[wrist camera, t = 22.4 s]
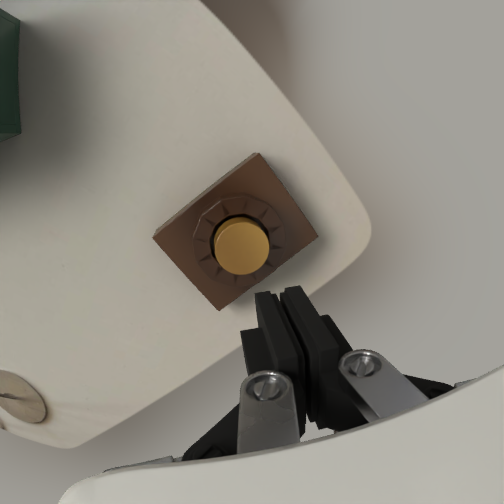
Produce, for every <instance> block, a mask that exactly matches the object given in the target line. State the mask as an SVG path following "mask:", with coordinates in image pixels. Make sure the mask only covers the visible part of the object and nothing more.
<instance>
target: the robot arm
mask: <svg viewBox="0 0 504 504" xmlns="http://www.w3.org/2000/svg"><path fill="white" fill-rule="evenodd" d="M255 304H256V312H257V320H258V328H254V329H249V330H243V331H240V333H241V339H242V345H243V351H244V357H245V363H246V368H247V373H248V377H247V378H246V379H245V380H244V381H243V383H242V385H241V388H240V402H239V404H238V405H237V406H236V407H234V408H233V409H232V410H231V411H230V412H229V413H228V414H227V415H226V416H225V417H224V418H223V419H222V420H220V421H219V422H218V423H217V424H216V425H215V426H214V427H213V428H211V429H210V430H209V431H208V432H207V433H206V434H205V435H204V436H202V437H201V438H200V439H199V440H198V441H197V442H196V443H194V444H193V445H192V446H191V447H190V448H189V449H188V450H187V451H186V452H185V453H184V455H183V457H179V458H175V459H173V457H172V456H168V457H164V458H160V459H155V460H151V461H146V462H142V463H137V464H132V465H126V466H121V467H115V468H111V469H108V470H105V471H104V472H102V473H101V474H97V475H94V476H91V477H88V478H86V479H83V480H82V481H79V482H77V483H76V484H74V485H73V486H71V487H70V488H69V489H68V490H67V491H66V492H65V493H64V494H63V496H62V498H61V499H60V501H59V503H58V504H504V365H502V366H500V367H499V368H496V369H494V370H492V371H490V372H488V373H486V374H484V375H482V376H480V377H478V378H475V379H472V380H467V381H463V382H459V383H455V385H454V387H452V386H451V385H448V384H445V383H441V382H436V381H431V380H426V379H422V378H417V377H412V376H408V375H404V374H401V373H400V372H399V371H398V370H397V369H396V368H395V367H394V366H393V365H392V364H391V363H390V362H388V361H387V360H386V359H385V358H384V357H383V356H382V355H380V354H379V353H377V352H375V351H372V350H366V349H361V350H354V351H353V349H352V348H351V346H350V345H349V343H348V342H347V340H346V339H345V338H344V336H343V335H342V333H341V332H340V330H339V329H338V327H337V326H336V324H335V323H334V322H333V320H332V319H331V317H330V316H329V315H322V316H319V314H318V312H317V311H316V309H315V308H314V306H313V305H312V303H311V302H310V300H309V298H308V297H307V295H306V294H305V292H304V291H303V289H302V288H301V286H300V285H299V286H294V287H288V288H285V291H284V292H282V293H280V301H279V299H278V297H277V295H276V294H271V293H270V291H265V292H259V293H255ZM306 414H307V416H308V419H309V421H310V422H316V424H317V427H318V429H319V430H320V429H323V428H329V429H332V430H334V434H331V435H328V436H324V437H320V438H316V439H312V440H308V441H304V442H300V438H301V437H302V435H303V434H304V433H305V424H306Z"/></svg>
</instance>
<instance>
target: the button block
mask: <svg viewBox="0 0 504 504" xmlns="http://www.w3.org/2000/svg"><path fill="white" fill-rule="evenodd" d="M236 217H244V218H248V219H251V220H253V221H254V222H256V223H257V224H258V225H259V226H260V227H261V229H262V230H263V231H264V233H265V234H266V236H267V238H268V241H269V254H268V257H267V259H266V261H265V263H264V264H263V265H262V266H261V267H260V268H259V269H258V270H256V271H254V272H252V273H249V274H245V275H238V274H233V273H230V272H228V271H226V270H225V269H224V268H223V267H222V266H221V265H220V264H219V262H218V261H217V258H216V255H215V248H214V238H215V234H216V232H217V230H218V228H219V227H220V226H221V225H222V224H223V223H224V222H226V221H227V220H229V219H232V218H236ZM317 237H318V235H317V233H316V232H315V230H314V229H313V227H312V226H311V224H310V223H309V222H308V220H307V219H306V217H305V216H304V214H303V213H302V211H301V210H300V209H299V207H298V206H297V204H296V203H295V201H294V200H293V199H292V197H291V196H290V194H289V193H288V192H287V190H286V189H285V187H284V186H283V185H282V183H281V182H280V181H279V179H278V178H277V176H276V175H275V174H274V172H273V171H272V170H271V168H270V167H269V165H268V164H267V163H266V161H265V160H264V159H263V157H262V156H261V155H260V153H253V154H252V155H251V156H249V157H248V158H247V159H245V160H244V161H243V162H241V163H240V164H239V165H237V166H236V167H235V168H233V169H232V170H231V171H229V172H228V173H227V174H225V175H224V176H223V177H221V178H220V179H219V180H218V181H216V182H215V183H214V184H212V185H211V186H210V187H209V188H207V189H206V190H205V191H204V192H202V193H201V194H200V195H199V196H197V197H196V198H195V199H194V200H192V201H191V202H190V203H189V204H187V205H186V206H185V207H184V208H182V209H181V210H180V211H179V212H178V213H176V214H175V215H174V216H173V217H171V218H170V219H169V220H168V221H167V222H165V223H164V224H163V225H162V226H161V227H160V228H158V229H157V230H156V232H155V233H154V235H153V237H152V238H153V239H154V240H155V242H156V243H157V244H158V245H159V246H160V247H161V249H162V250H163V251H164V252H165V253H166V254H167V255H168V256H169V258H170V259H171V260H172V261H173V262H174V263H175V264H176V265H177V267H178V268H179V269H180V270H181V271H182V272H183V273H184V274H185V275H186V277H187V278H188V279H189V280H190V281H191V282H192V283H193V284H194V285H195V286H196V287H197V289H198V290H199V291H200V292H201V293H202V294H203V295H204V296H205V297H206V298H207V299H208V300H209V302H210V303H211V304H212V305H213V306H214V307H215V308H216V309H217V310H218V311H220V310H221V309H223V308H224V307H225V306H227V305H228V304H229V303H231V302H232V301H234V300H235V299H236V298H238V297H239V296H240V295H242V294H243V293H244V292H246V291H247V290H248V289H250V288H251V287H252V286H254V285H255V284H257V283H259V282H260V281H262V280H263V279H264V278H266V277H267V276H268V275H270V274H271V273H272V272H274V271H275V270H276V269H277V268H278V267H279V266H280V265H282V264H283V263H284V262H286V261H287V260H288V259H290V258H291V257H292V256H294V255H295V254H296V253H298V252H299V251H300V250H301V249H303V248H304V247H305V246H307V245H308V244H309V243H311V242H312V241H313V240H314V239H316V238H317Z"/></svg>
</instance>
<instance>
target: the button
mask: <svg viewBox="0 0 504 504" xmlns="http://www.w3.org/2000/svg"><path fill="white" fill-rule="evenodd" d="M214 248H215V255H216V258H217V261H218V262H219V264H220V265H221V266H222V267H223V268H224V269H225V270H226V271H228V272H230V273H233V274H238V275H245V274H249V273H252V272H254V271H256V270H258V269H259V268H260V267H261V266H262V265H263V264H264V263H265V261H266V259H267V257H268V254H269V241H268V238H267V236H266V234H265V233H264V231H263V230H262V229H261V227H260V226H259V225H258V224H257V223H256V222H254V221H253V220H251V219H248V218H244V217H236V218H232V219H229V220H227V221H226V222H224V223H223V224H222V225H221V226H220V227H219V228H218V230H217V232H216V234H215V238H214Z"/></svg>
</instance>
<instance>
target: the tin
mask: <svg viewBox="0 0 504 504" xmlns="http://www.w3.org/2000/svg"><path fill="white" fill-rule="evenodd" d="M19 27H20V20H19V19H17V18H15V17H14V16H12V15H10V14H9V13H7V12H5V11H4V10H2V9H0V142H1V141H3V140H6V139H8V138H11V137H13V136H16V135H18V134H21V126H20V114H19V96H18V45H19Z"/></svg>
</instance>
